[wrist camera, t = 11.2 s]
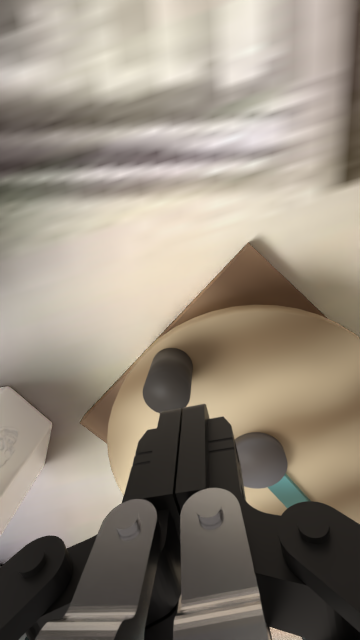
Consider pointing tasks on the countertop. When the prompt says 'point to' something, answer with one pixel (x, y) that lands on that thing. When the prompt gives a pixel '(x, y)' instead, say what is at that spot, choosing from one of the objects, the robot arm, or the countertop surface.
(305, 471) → the handwheel
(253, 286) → the mount
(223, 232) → the countertop surface
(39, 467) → the jar
